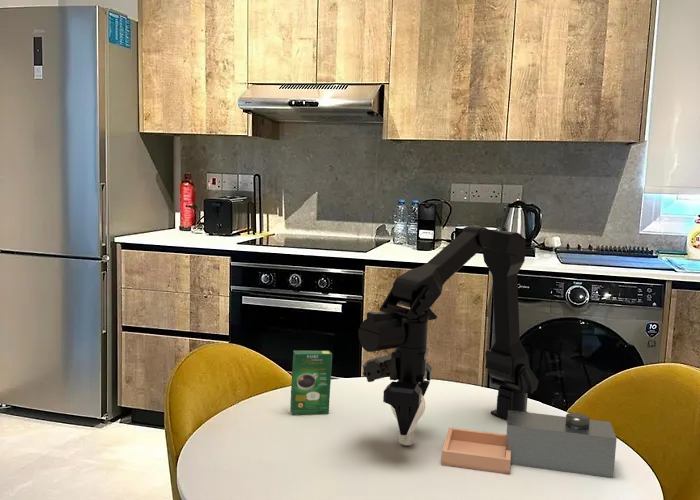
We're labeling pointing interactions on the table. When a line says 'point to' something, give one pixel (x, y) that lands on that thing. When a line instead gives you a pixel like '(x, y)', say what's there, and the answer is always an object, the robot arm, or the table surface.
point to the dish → (476, 450)
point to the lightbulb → (409, 438)
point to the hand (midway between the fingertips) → (407, 427)
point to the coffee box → (311, 382)
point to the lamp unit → (561, 443)
